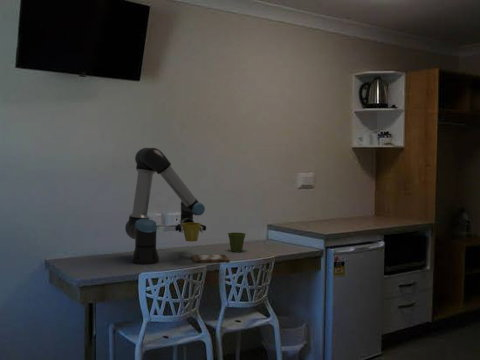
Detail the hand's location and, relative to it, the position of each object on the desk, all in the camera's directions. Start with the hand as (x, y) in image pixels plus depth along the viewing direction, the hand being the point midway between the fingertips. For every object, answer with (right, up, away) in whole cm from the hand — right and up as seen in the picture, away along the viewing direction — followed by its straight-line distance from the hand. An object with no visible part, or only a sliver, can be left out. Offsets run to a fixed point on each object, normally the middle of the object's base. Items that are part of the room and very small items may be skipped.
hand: (192, 230), depth 283 cm
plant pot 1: (-1, -6, +4) cm, 8 cm away
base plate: (+9, -18, +13) cm, 24 cm away
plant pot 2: (+24, -18, +44) cm, 53 cm away
